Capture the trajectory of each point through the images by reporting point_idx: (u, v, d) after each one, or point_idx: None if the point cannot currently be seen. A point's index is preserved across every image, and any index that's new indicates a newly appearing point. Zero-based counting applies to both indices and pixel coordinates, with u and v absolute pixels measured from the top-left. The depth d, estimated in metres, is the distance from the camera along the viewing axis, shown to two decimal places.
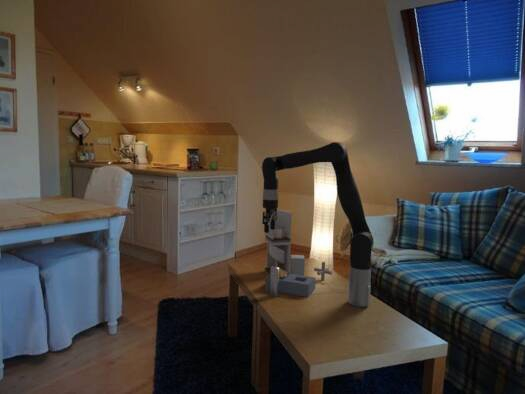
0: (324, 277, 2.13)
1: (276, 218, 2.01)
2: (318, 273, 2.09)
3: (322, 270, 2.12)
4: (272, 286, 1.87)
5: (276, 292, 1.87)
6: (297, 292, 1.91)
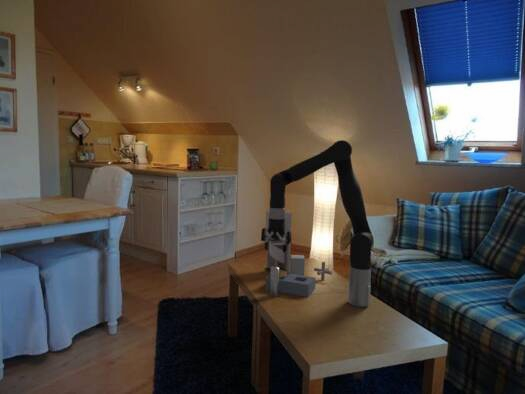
0: (324, 277, 2.13)
1: None
2: (318, 273, 2.09)
3: (322, 270, 2.12)
4: (272, 286, 1.87)
5: (276, 292, 1.87)
6: (297, 292, 1.91)
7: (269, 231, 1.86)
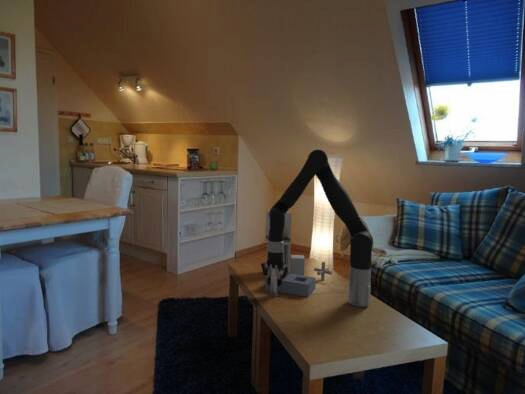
0: (324, 277, 2.13)
1: None
2: (318, 273, 2.09)
3: (322, 270, 2.12)
4: (272, 286, 1.87)
5: (276, 292, 1.87)
6: (297, 292, 1.91)
7: (268, 265, 1.88)
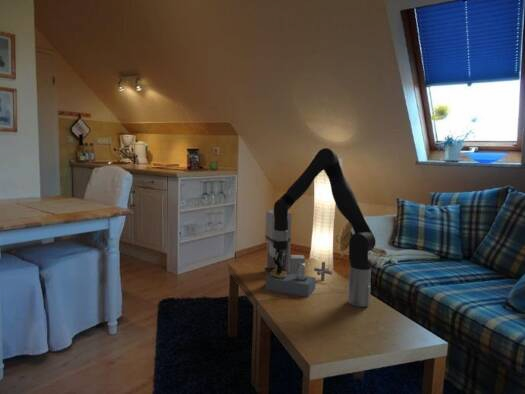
0: (324, 277, 2.13)
1: None
2: (318, 273, 2.09)
3: (322, 270, 2.12)
4: None
5: None
6: (297, 292, 1.91)
7: (280, 256, 1.96)
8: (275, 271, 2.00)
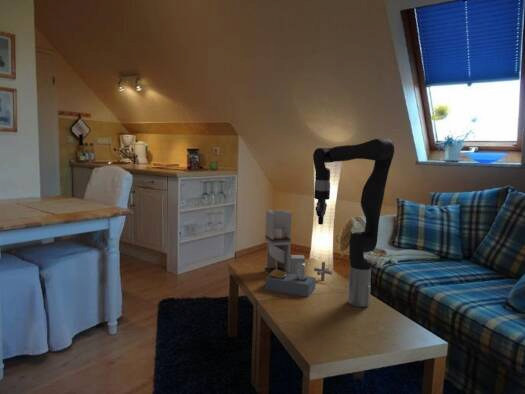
0: (324, 277, 2.13)
1: (317, 214, 1.94)
2: (318, 273, 2.09)
3: (322, 270, 2.12)
4: None
5: None
6: (297, 292, 1.91)
7: (322, 206, 1.92)
8: (275, 272, 2.00)
